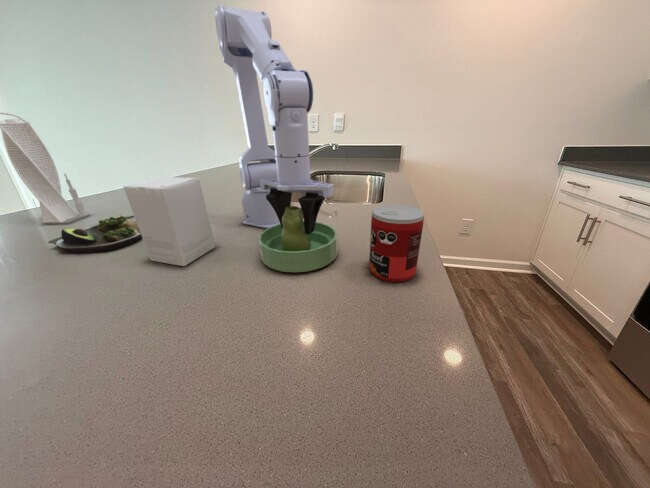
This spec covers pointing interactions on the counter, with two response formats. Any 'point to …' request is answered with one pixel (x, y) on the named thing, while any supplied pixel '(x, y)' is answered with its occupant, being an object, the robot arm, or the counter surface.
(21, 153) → the skyscraper
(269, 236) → the bowl
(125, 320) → the counter surface
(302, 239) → the pear
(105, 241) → the salad plate
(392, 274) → the canned food
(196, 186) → the white product box
